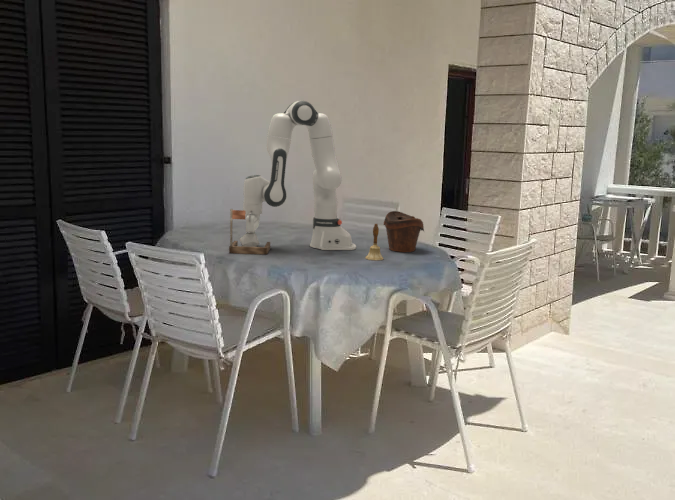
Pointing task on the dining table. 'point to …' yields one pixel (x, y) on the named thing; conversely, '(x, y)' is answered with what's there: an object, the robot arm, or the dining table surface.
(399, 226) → the brown lidded bucket
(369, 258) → the hand bell
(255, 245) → the die
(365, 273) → the dining table surface
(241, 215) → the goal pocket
